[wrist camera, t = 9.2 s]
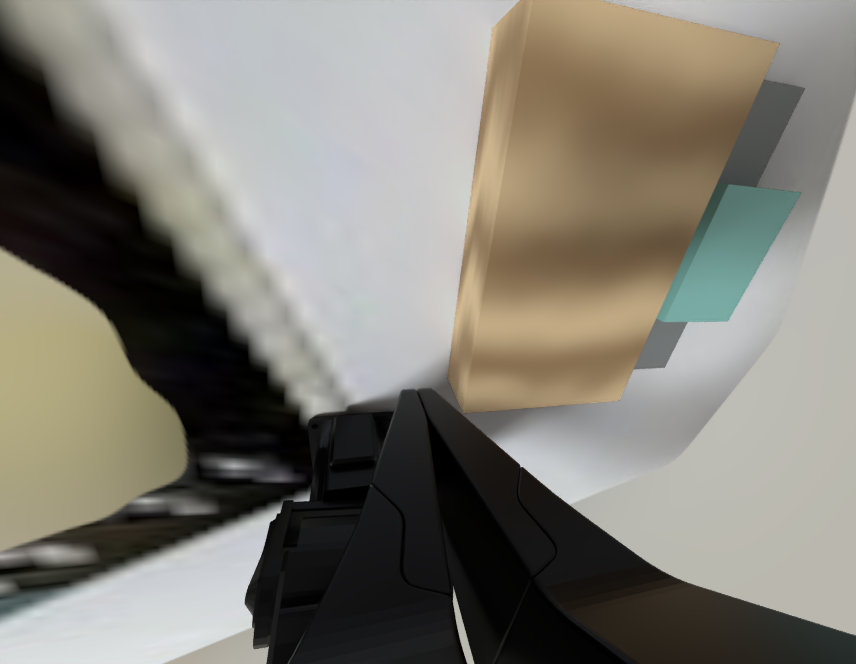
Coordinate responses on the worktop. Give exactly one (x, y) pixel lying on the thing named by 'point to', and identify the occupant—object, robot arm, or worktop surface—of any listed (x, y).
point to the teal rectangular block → (726, 252)
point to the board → (588, 193)
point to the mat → (740, 170)
